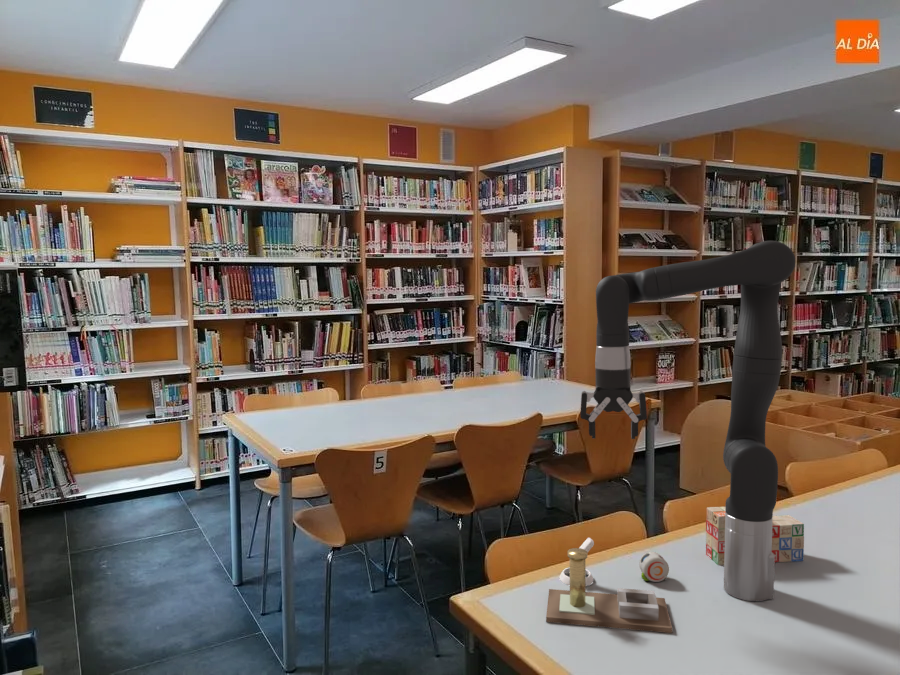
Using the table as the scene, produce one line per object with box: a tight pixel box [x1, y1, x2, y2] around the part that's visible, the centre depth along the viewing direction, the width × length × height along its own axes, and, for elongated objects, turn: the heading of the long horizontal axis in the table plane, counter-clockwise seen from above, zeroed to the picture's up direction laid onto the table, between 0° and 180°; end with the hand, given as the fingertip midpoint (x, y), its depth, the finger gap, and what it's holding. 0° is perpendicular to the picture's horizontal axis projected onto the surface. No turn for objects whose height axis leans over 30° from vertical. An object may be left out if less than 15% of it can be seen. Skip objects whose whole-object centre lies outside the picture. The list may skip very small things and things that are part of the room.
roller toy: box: [638, 551, 670, 583], centre depth 147 cm, size 4×6×6 cm
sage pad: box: [559, 594, 595, 615], centre depth 134 cm, size 7×7×1 cm
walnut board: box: [545, 587, 673, 634], centre depth 133 cm, size 24×12×4 cm, turn 79°
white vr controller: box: [559, 537, 595, 587], centre depth 147 cm, size 8×12×7 cm
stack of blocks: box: [705, 506, 805, 566], centre depth 157 cm, size 21×6×12 cm, turn 94°
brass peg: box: [567, 547, 588, 607], centre depth 133 cm, size 4×4×11 cm
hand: (613, 438), depth 145 cm, fingers open, 8 cm apart
